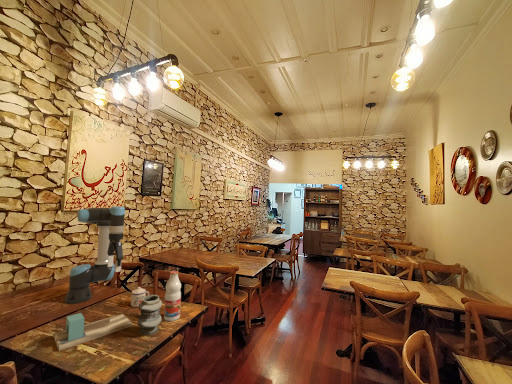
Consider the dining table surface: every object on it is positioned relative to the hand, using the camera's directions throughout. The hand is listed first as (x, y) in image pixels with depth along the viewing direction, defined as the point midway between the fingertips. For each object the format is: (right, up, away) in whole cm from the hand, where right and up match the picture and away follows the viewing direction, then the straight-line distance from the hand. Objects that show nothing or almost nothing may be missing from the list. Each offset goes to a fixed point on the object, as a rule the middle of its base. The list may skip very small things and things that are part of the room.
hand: (114, 269), depth 138 cm
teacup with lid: (+3, -32, +24) cm, 40 cm away
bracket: (-9, -28, -19) cm, 35 cm away
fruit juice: (+32, -32, +6) cm, 46 cm away
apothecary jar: (+25, -31, -9) cm, 41 cm away
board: (-3, -30, -11) cm, 32 cm away
